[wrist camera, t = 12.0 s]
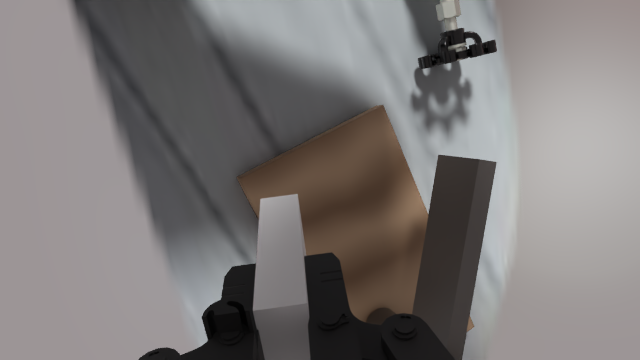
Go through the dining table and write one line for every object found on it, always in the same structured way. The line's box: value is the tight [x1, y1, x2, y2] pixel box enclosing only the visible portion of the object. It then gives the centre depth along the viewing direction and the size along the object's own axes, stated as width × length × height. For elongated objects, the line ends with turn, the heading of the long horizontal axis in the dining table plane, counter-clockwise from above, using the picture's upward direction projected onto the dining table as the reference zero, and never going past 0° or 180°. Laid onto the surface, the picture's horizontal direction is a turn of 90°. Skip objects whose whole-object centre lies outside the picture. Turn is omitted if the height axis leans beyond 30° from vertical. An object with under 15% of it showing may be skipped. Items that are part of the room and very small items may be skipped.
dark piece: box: [366, 155, 496, 360], centre depth 35 cm, size 22×5×15 cm, turn 172°
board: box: [237, 105, 474, 331], centre depth 42 cm, size 24×14×2 cm, turn 27°
